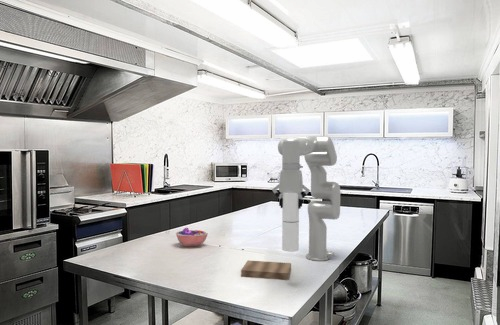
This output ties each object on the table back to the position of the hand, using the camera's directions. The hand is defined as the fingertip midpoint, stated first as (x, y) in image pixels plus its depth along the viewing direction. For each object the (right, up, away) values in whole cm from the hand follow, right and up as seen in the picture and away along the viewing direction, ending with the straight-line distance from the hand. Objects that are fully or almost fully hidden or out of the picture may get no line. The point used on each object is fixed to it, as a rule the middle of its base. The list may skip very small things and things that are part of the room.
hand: (290, 207), depth 155 cm
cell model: (-54, -33, +66) cm, 92 cm away
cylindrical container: (0, -18, 0) cm, 18 cm away
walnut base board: (-10, -33, +16) cm, 38 cm away
